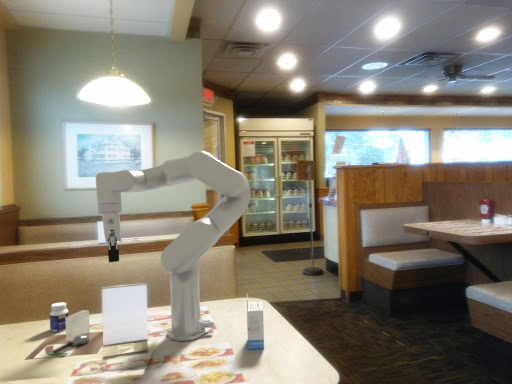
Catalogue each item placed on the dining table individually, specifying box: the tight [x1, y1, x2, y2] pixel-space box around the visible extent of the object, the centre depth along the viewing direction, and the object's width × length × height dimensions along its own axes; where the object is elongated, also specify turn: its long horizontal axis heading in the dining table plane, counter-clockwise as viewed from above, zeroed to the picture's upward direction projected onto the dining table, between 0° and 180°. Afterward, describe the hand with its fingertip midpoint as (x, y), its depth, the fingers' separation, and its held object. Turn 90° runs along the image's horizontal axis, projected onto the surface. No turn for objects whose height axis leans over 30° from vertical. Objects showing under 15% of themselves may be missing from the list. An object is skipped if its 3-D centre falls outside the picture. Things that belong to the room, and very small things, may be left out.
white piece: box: [53, 309, 91, 353], centre depth 112 cm, size 12×6×9 cm, turn 162°
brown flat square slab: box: [23, 331, 104, 361], centre depth 115 cm, size 20×18×1 cm
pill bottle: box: [49, 301, 69, 333], centre depth 128 cm, size 6×6×10 cm
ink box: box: [246, 293, 265, 350], centre depth 114 cm, size 8×5×15 cm, turn 2°
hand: (113, 259), depth 124 cm, fingers open, 9 cm apart
